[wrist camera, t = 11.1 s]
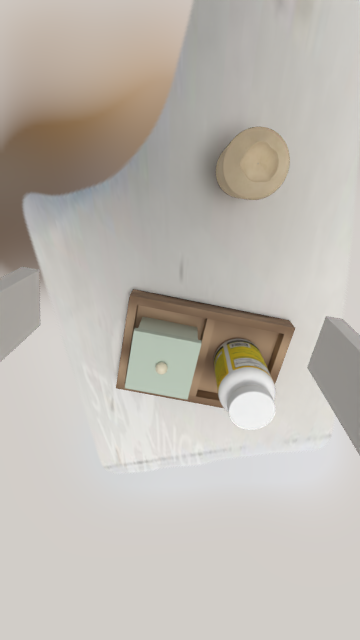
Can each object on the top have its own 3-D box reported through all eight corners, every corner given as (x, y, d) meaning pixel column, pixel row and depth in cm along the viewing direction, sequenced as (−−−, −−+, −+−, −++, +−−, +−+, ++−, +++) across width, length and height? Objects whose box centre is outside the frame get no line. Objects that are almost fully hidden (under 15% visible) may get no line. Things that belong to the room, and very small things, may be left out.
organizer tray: (133, 289, 40) (129, 295, 38) (289, 320, 41) (295, 328, 39) (119, 377, 45) (115, 388, 43) (259, 404, 46) (263, 415, 44)
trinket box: (140, 313, 40) (132, 334, 35) (200, 325, 41) (201, 348, 35) (131, 366, 43) (122, 393, 37) (187, 376, 44) (187, 405, 38)
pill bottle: (230, 386, 44) (242, 446, 34) (203, 353, 42) (208, 405, 32) (270, 363, 42) (295, 418, 32) (244, 327, 41) (262, 374, 30)
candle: (212, 195, 36) (220, 196, 27) (219, 139, 34) (230, 119, 25) (261, 200, 36) (286, 203, 27) (271, 144, 34) (302, 126, 25)
